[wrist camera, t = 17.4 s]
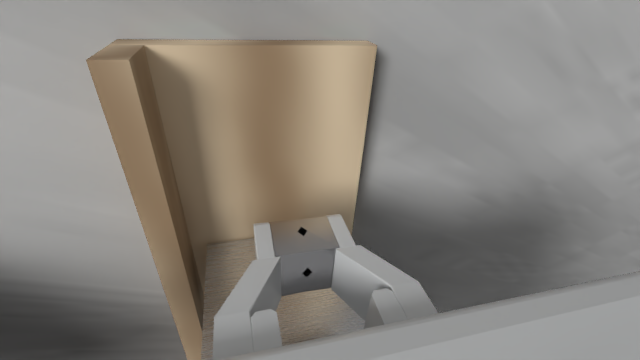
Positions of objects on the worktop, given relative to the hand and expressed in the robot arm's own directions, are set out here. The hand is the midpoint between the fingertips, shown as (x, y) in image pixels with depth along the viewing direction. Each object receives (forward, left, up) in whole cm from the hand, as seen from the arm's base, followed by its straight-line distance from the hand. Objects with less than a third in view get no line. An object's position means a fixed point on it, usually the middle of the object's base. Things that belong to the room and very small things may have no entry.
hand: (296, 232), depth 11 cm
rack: (-1, -7, -5) cm, 9 cm away
